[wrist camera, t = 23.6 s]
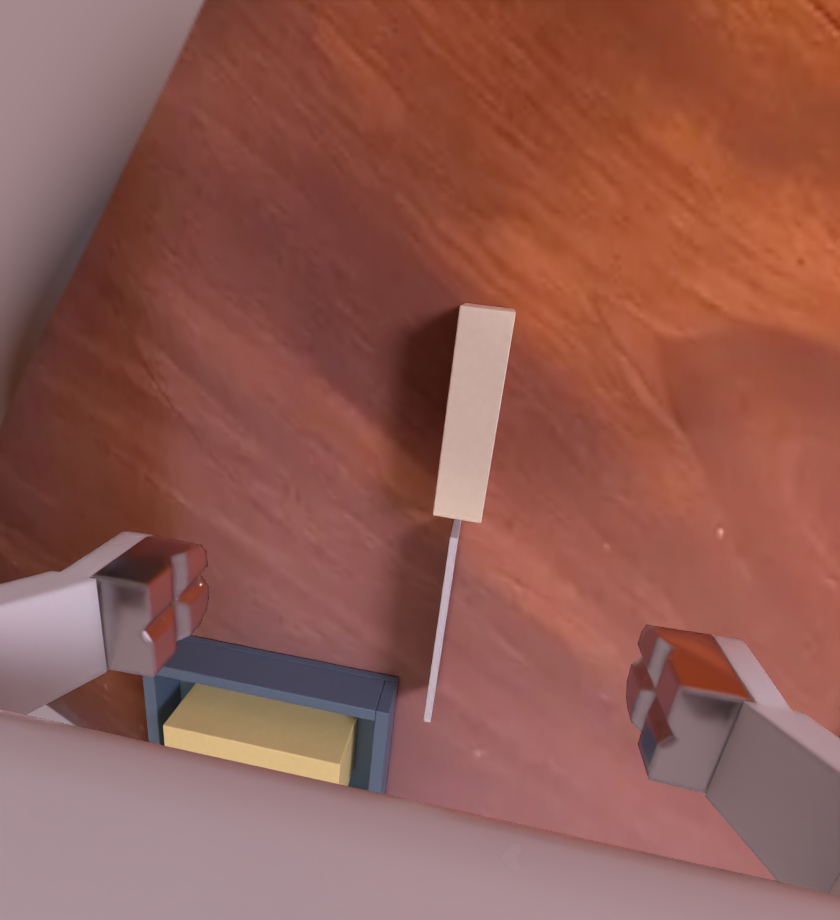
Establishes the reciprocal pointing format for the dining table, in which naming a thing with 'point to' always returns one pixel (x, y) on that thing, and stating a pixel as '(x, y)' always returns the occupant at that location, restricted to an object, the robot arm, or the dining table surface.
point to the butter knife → (469, 436)
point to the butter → (264, 733)
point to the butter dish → (283, 694)
